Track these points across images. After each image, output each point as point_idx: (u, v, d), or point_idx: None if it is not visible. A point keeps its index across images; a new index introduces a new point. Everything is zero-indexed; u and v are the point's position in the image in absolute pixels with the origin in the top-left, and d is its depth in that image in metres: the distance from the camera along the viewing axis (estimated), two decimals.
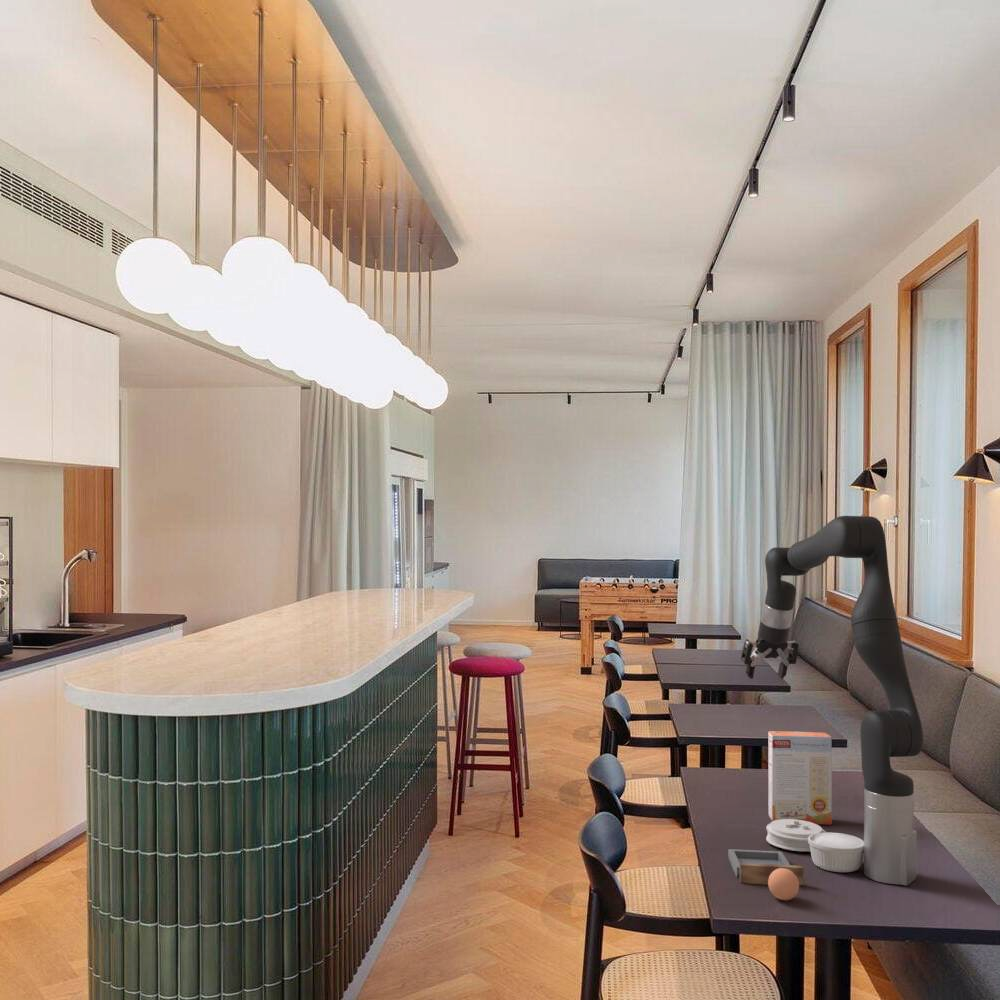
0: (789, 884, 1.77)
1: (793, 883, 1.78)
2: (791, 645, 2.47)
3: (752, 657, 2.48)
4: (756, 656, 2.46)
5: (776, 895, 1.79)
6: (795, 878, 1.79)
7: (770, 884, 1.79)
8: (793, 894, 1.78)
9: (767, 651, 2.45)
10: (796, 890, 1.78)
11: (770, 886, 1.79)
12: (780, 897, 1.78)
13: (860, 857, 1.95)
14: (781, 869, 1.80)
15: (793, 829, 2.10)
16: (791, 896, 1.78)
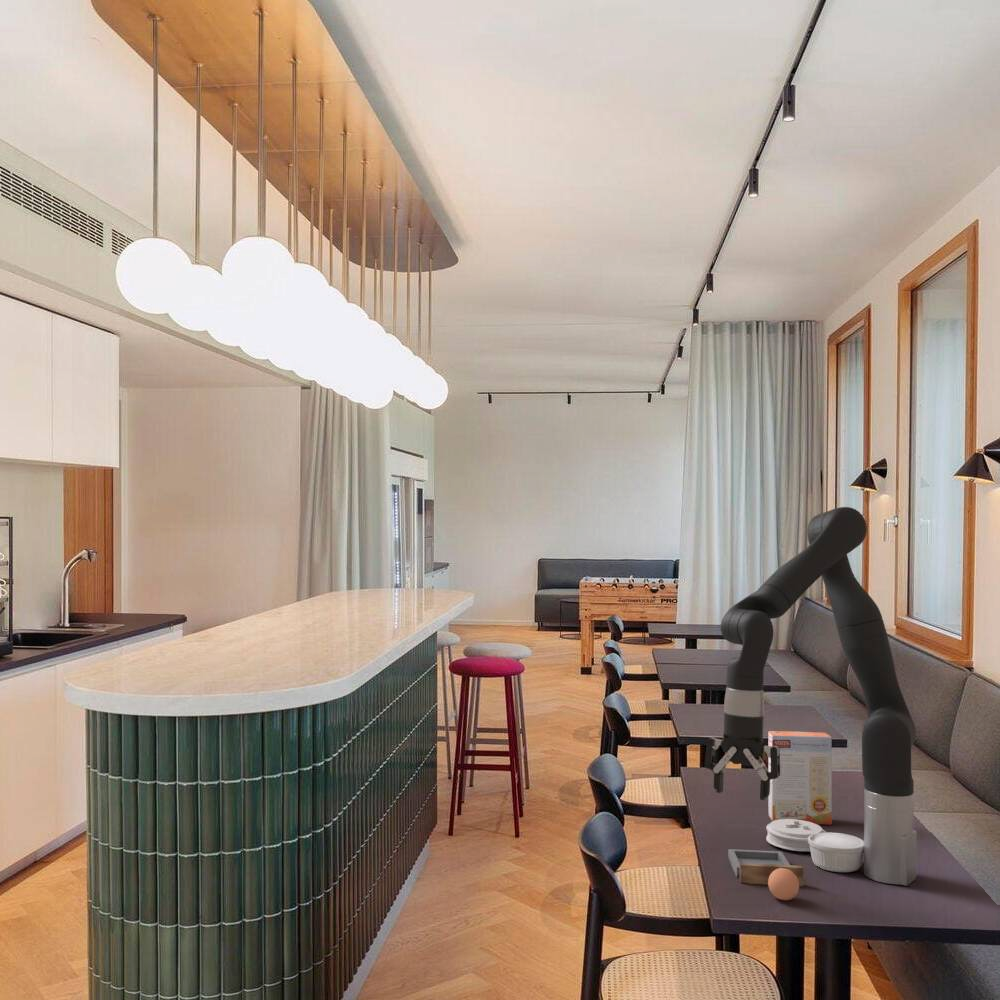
0: (789, 884, 1.77)
1: (793, 883, 1.78)
2: None
3: None
4: (763, 764, 1.86)
5: (776, 895, 1.79)
6: (795, 878, 1.79)
7: (770, 884, 1.79)
8: (793, 894, 1.78)
9: None
10: (796, 890, 1.78)
11: (770, 886, 1.79)
12: (780, 897, 1.78)
13: (860, 857, 1.95)
14: (781, 869, 1.80)
15: (793, 829, 2.10)
16: (791, 896, 1.78)
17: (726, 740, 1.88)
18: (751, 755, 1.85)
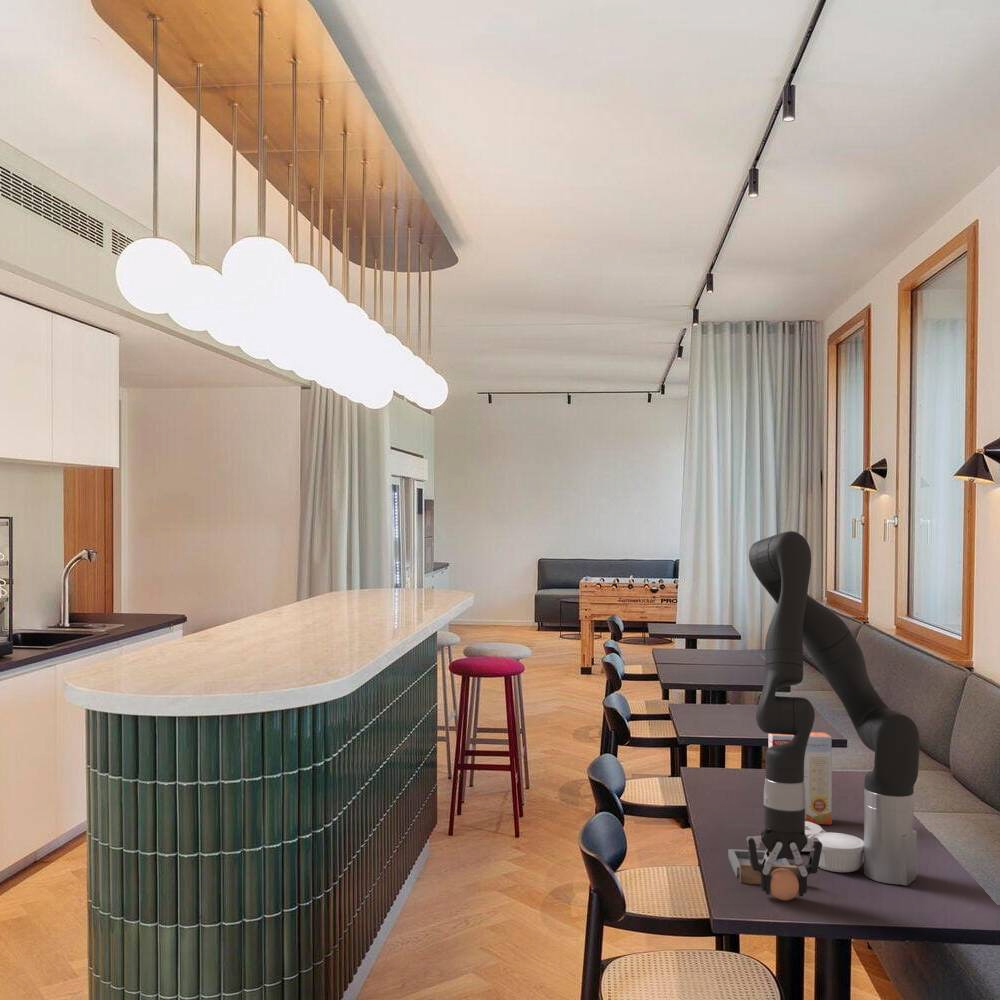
0: (789, 885, 1.77)
1: (793, 883, 1.78)
2: None
3: None
4: None
5: (776, 895, 1.79)
6: (795, 878, 1.79)
7: (770, 884, 1.79)
8: (793, 894, 1.78)
9: None
10: (796, 890, 1.78)
11: (770, 886, 1.79)
12: (780, 897, 1.78)
13: (860, 857, 1.95)
14: (781, 869, 1.80)
15: None
16: (791, 896, 1.78)
17: (768, 835, 1.80)
18: (797, 850, 1.78)
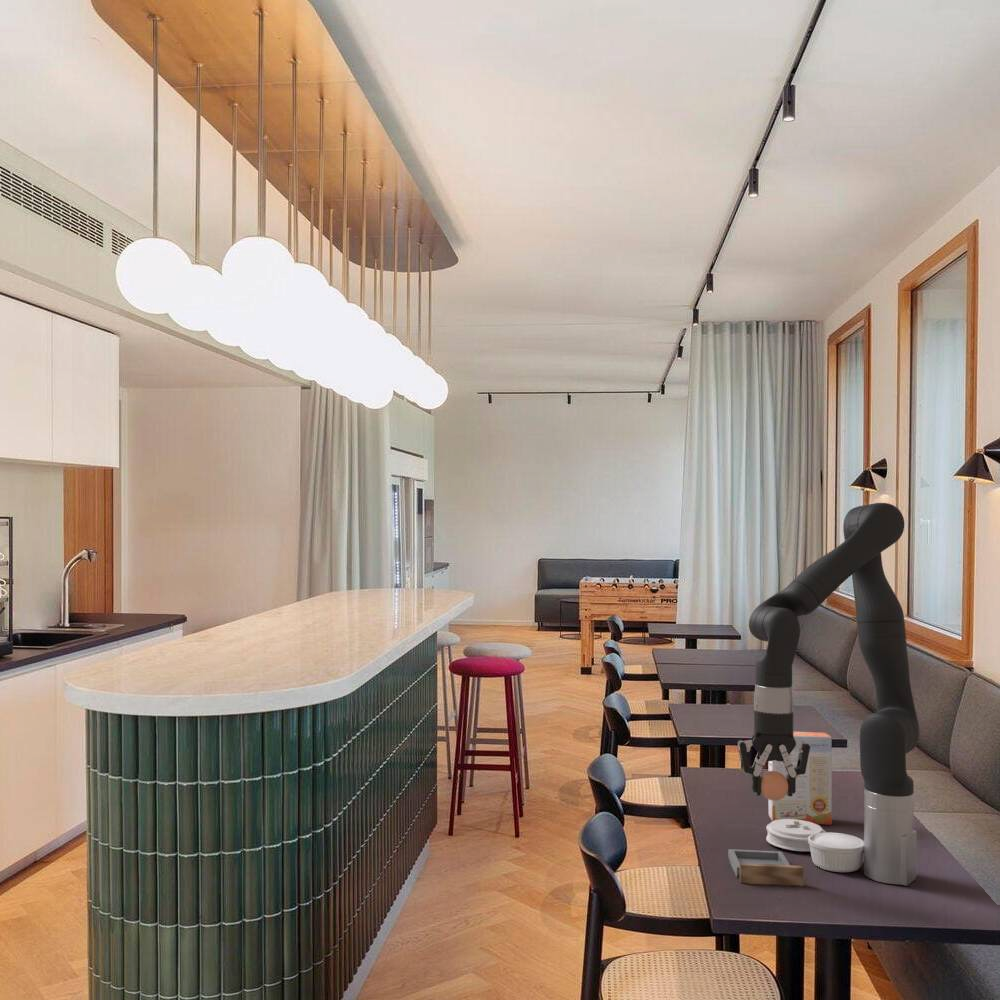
0: (779, 785, 1.86)
1: (783, 784, 1.86)
2: None
3: None
4: None
5: (766, 795, 1.87)
6: (784, 779, 1.87)
7: (761, 785, 1.87)
8: (783, 794, 1.86)
9: None
10: (785, 790, 1.86)
11: (761, 787, 1.88)
12: (770, 797, 1.86)
13: (860, 857, 1.95)
14: (771, 771, 1.88)
15: (793, 829, 2.10)
16: (781, 796, 1.86)
17: (758, 738, 1.88)
18: (786, 751, 1.87)
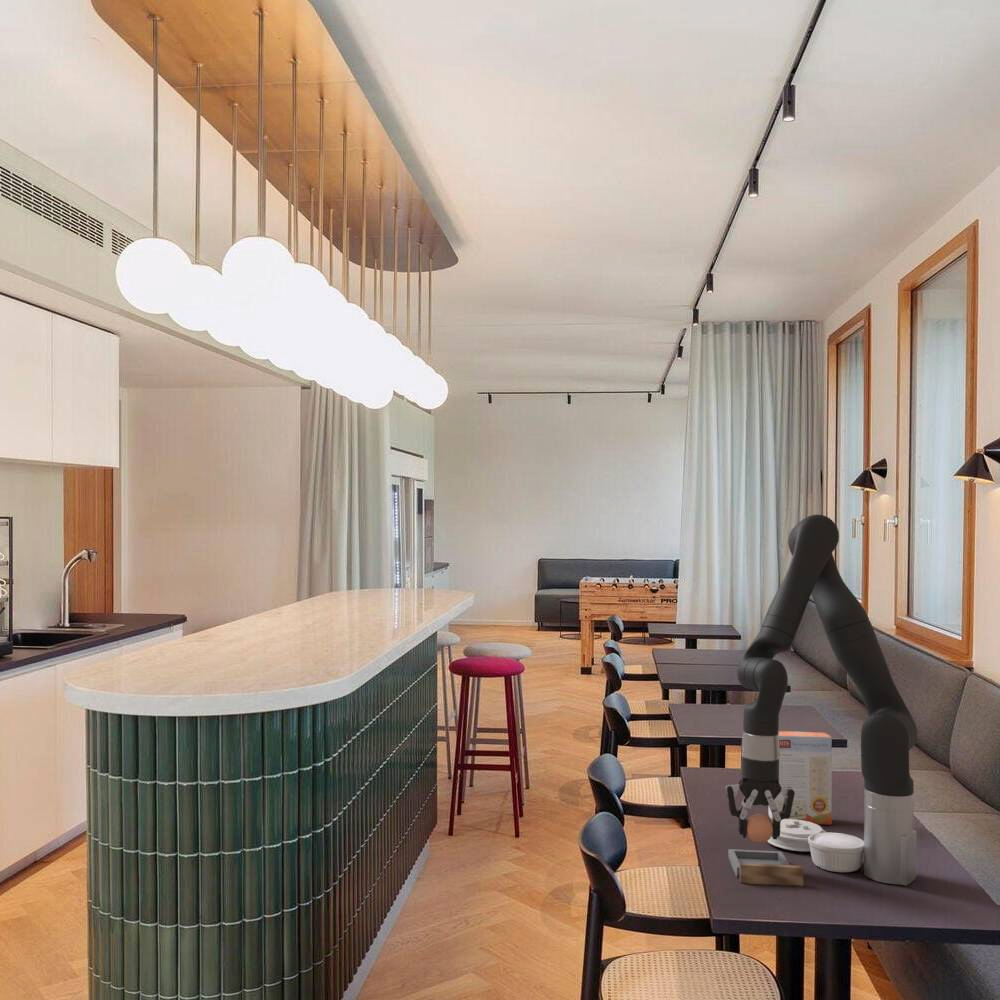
0: (763, 828, 1.94)
1: (767, 827, 1.95)
2: None
3: None
4: None
5: (752, 838, 1.95)
6: (769, 823, 1.96)
7: (746, 828, 1.96)
8: (767, 837, 1.95)
9: None
10: (770, 833, 1.95)
11: (746, 830, 1.96)
12: (755, 840, 1.95)
13: (860, 857, 1.95)
14: (757, 815, 1.97)
15: (793, 829, 2.10)
16: (765, 839, 1.95)
17: (745, 783, 1.96)
18: (771, 797, 1.95)
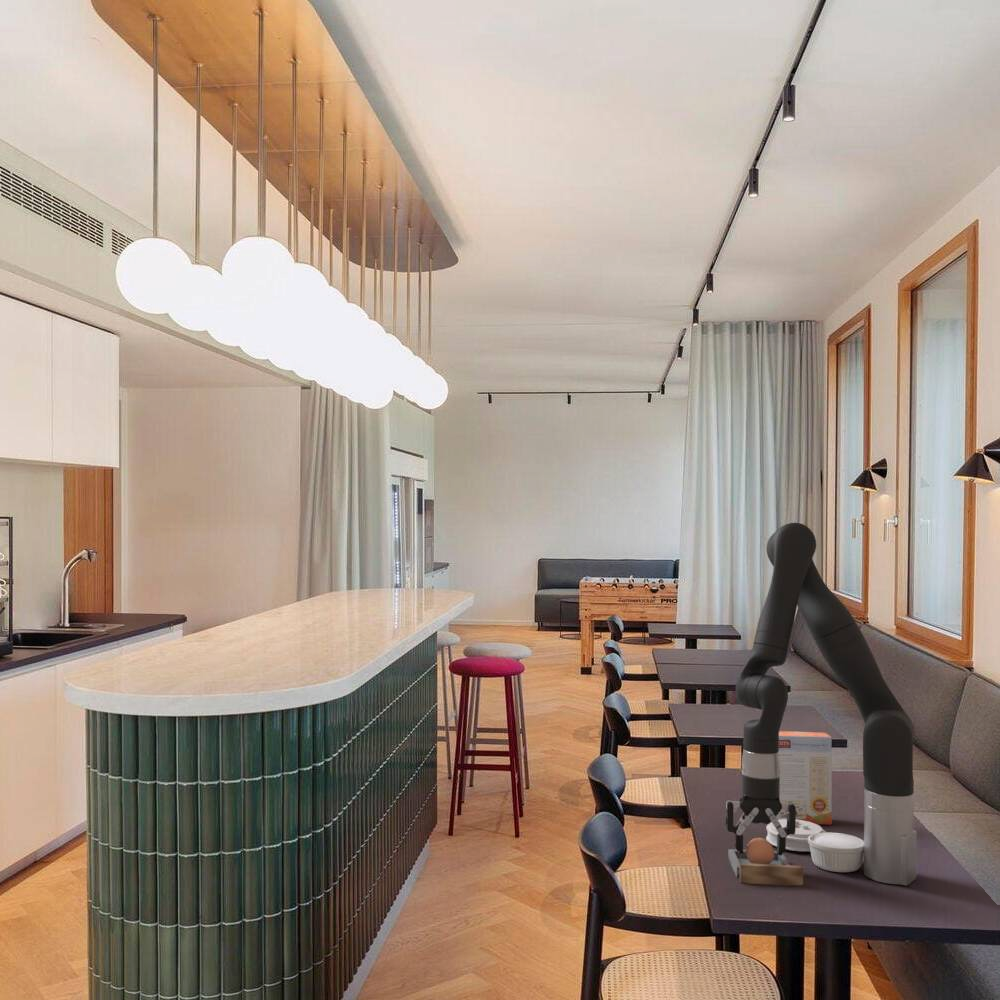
0: (765, 852, 1.93)
1: (769, 851, 1.94)
2: None
3: None
4: None
5: (753, 862, 1.95)
6: (770, 846, 1.95)
7: (747, 852, 1.95)
8: (768, 861, 1.94)
9: None
10: (771, 857, 1.94)
11: (747, 854, 1.95)
12: None
13: (860, 857, 1.95)
14: (758, 838, 1.96)
15: None
16: (767, 863, 1.94)
17: (746, 801, 1.96)
18: (773, 814, 1.94)
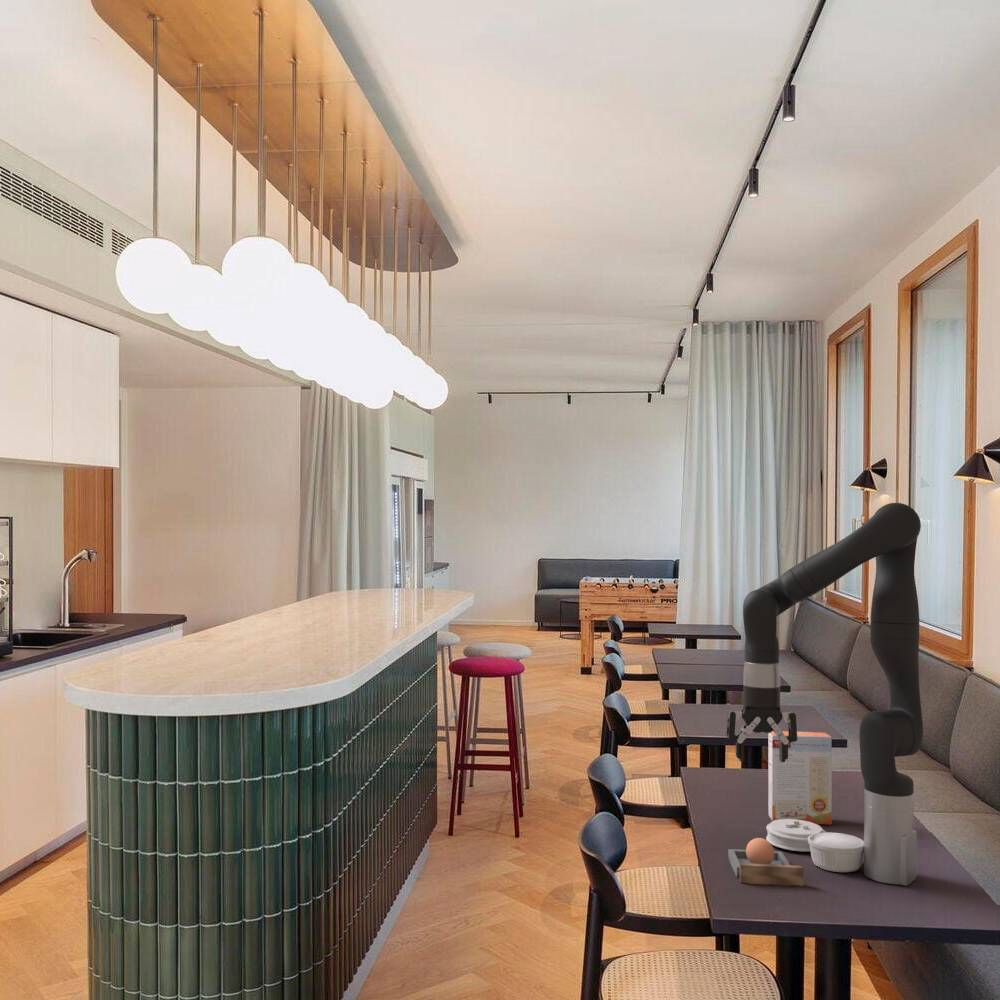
0: (765, 853, 1.93)
1: (769, 852, 1.94)
2: None
3: None
4: None
5: (753, 862, 1.95)
6: (770, 847, 1.95)
7: (747, 852, 1.95)
8: (768, 861, 1.94)
9: None
10: (771, 858, 1.94)
11: (747, 854, 1.95)
12: None
13: (860, 857, 1.95)
14: (758, 839, 1.96)
15: (793, 829, 2.10)
16: (767, 863, 1.94)
17: (748, 711, 2.01)
18: (774, 722, 2.00)
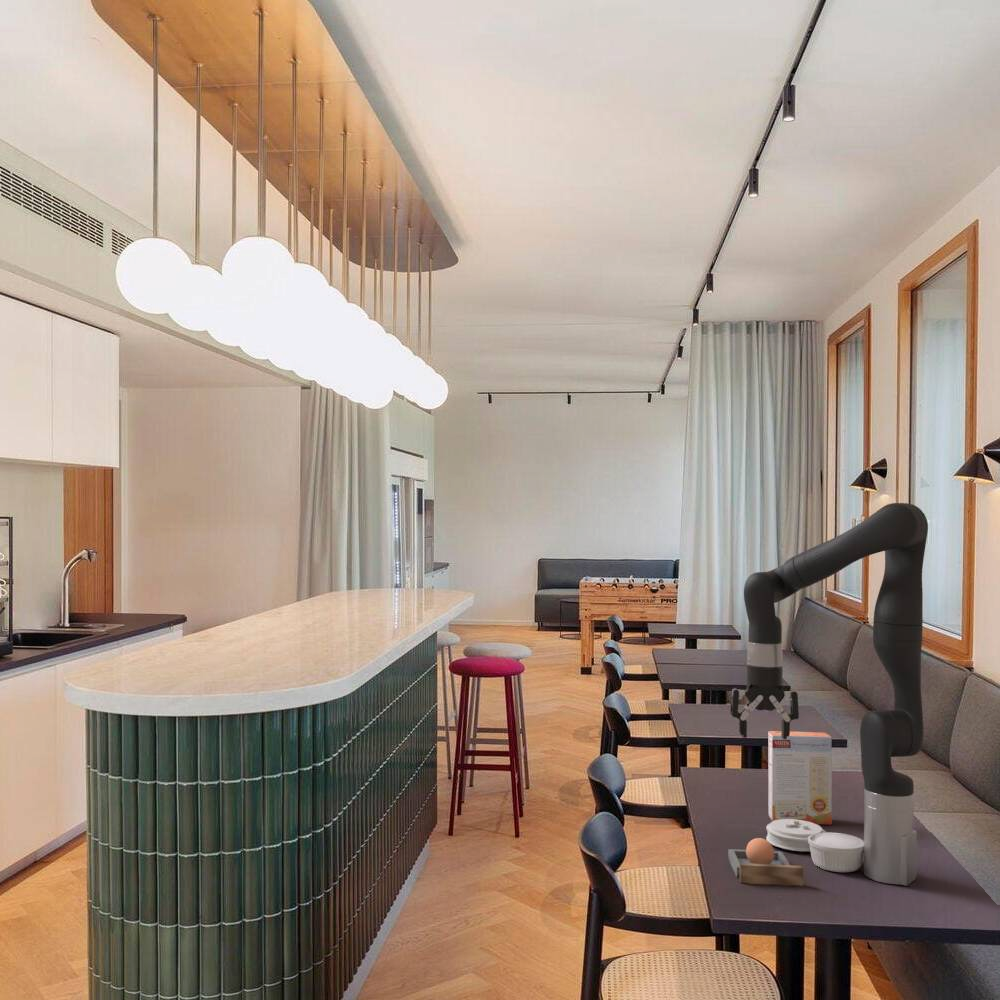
0: (765, 853, 1.93)
1: (769, 852, 1.94)
2: None
3: None
4: None
5: (753, 862, 1.95)
6: (770, 847, 1.95)
7: (748, 852, 1.95)
8: (768, 862, 1.94)
9: None
10: (771, 858, 1.94)
11: (748, 854, 1.95)
12: None
13: (860, 857, 1.95)
14: (758, 839, 1.96)
15: (793, 829, 2.10)
16: (767, 863, 1.94)
17: (751, 690, 2.09)
18: (776, 700, 2.07)
